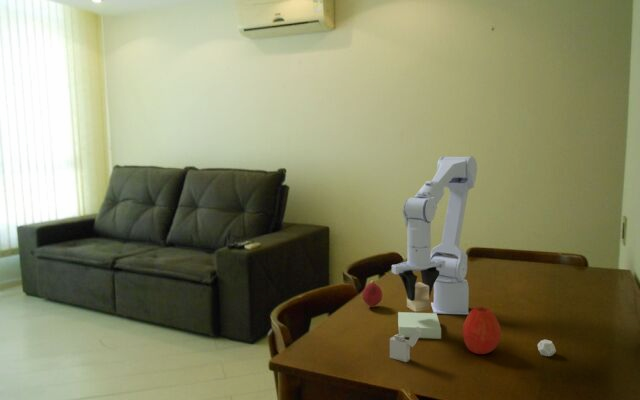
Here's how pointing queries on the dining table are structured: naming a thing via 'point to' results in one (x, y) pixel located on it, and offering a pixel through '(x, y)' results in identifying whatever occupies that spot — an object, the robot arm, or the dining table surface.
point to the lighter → (403, 345)
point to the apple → (481, 330)
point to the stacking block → (419, 324)
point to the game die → (546, 347)
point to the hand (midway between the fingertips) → (418, 298)
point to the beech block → (420, 298)
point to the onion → (372, 294)
